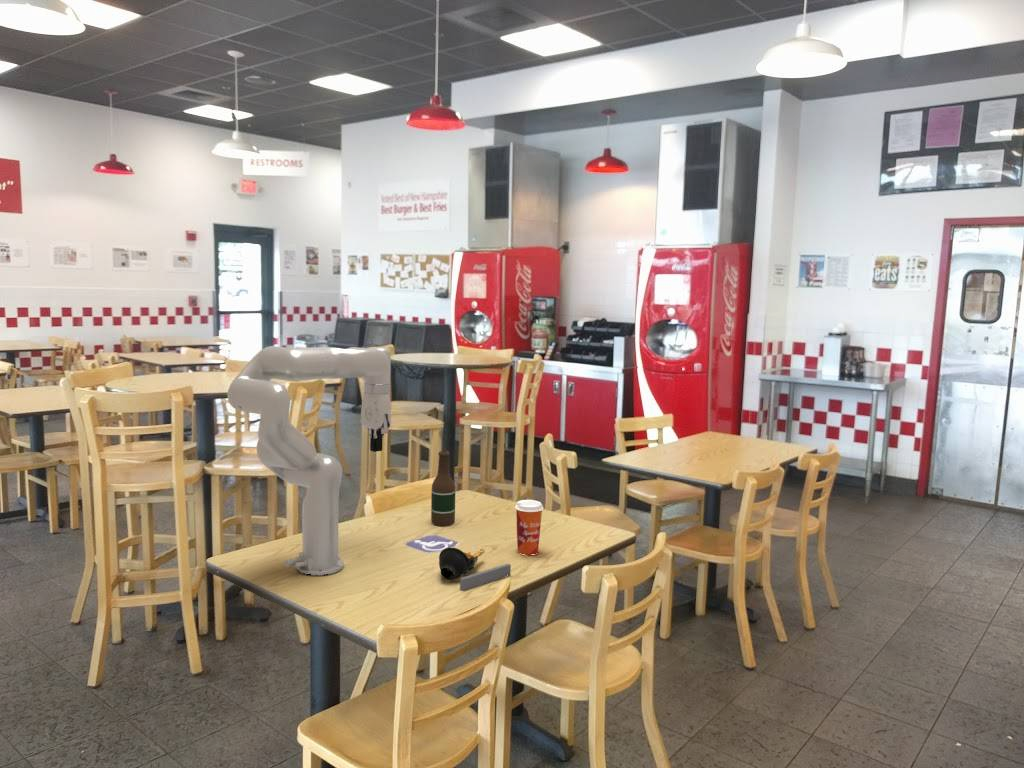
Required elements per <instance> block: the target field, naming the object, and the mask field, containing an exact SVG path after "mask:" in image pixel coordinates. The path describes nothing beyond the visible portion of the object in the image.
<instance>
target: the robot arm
mask: <svg viewBox="0 0 1024 768" xmlns="http://www.w3.org/2000/svg"><path fill="white" fill-rule="evenodd" d="M391 355H392V353H391V350H390V348H388V347H385V346H369V347H355V346H353V347H351V346H350V347H347V348H341V347H332V346H313V347H310V346H309V347H289V346H288V347H286V346H285V347H284V346H275V345H269V346H266V347H264V348H262V349H260V350H259V351H258V352H257V353H256V354H255V355H254V356H253V357H252V359H250V360H249V361H248V362H247V364H246V365H245V366H244V367H243V369H242V370H241V371H240V372H239V373H238V374H237V375H236V376H235V377H234V379H233V380H232V382H231V383H230V385H229V387H228V389H227V401H228V403H229V405H230V406H231V407H232V408H233V409H235V410H237V411H239V412H243V413H250V414H255V415H256V414H258V415H260V419H259V425H258V431H257V437H258V440H257V443H256V456H257V457H258V459H259V461H260V463H261V464H262V465H263V466H265V467H266V468H268V470H269V471H271V472H272V473H273V474H275V475H276V476H277V477H278V478H280V479H281V480H283V481H284V482H285V483H288V484H290V485H295V486H298V487H303V488H307V489H308V490H307V491H308V492H307V493H306V495H305V496H304V498H303V501H302V507H301V513H302V514H301V516H302V517H301V520H302V521H301V523H302V525H301V528H302V530H301V531H302V535H301V536H302V538H301V539H302V541H301V542H302V551H300V552H298V555H297V556H296V557H295V558H290V559H286V560H285V562H284V563H285V567H286V568H291V567H294V568H295V569H296V570H297V571H298V570H299V571H300V572H302V573H301V574H303V573H305V574H304V575H306V574H311V575H310V576H316V575H317V576H325V575H326V574H328V575H331V574H335V573H338V572H340V571H341V570H343V568H344V567H345V560H344V559H343V558H341V557H339V493H340V486H341V482H342V477H343V466H342V464H341V462H340V461H339V460H338V459H337V458H336V457H334V456H331V455H329V454H325V453H319V452H317V450H316V447H315V445H314V444H313V442H312V441H311V440H310V439H309V438H308V437H307V436H305V435H304V434H303V433H302V432H301V431H300V430H299V429H298V428H296V427H295V426H294V425H293V424H292V423H291V421H290V408H291V395H290V392H289V391H288V389H287V388H286V386H285V385H283V384H282V383H280V382H278V381H275V380H279V381H288V382H301V381H309V380H310V381H313V380H328V379H329V380H331V379H332V380H333V379H334V380H335V379H336V380H337V379H351V378H353V379H355V378H364V379H363V382H364V383H363V394H362V399H361V400H362V401H361V409H360V424H361V425H362V426H363V427H365V429H366V430H368V434H369V437H370V438H369V439H370V442H369V443H370V444H369V450H370V452H374V453H375V452H376V453H377V452H382V451H383V442H384V441H383V438H384V435H387V434H388V433H389V429H390V427H391V425H392V407H391V405H392V404H391V397H390V395H391V370H392V369H391V367H392V365H391V358H392V357H391ZM273 380H274V381H273ZM299 571H298V572H299ZM300 572H299V573H300ZM324 574H325V575H324Z"/></svg>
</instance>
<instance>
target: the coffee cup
mask: <svg viewBox="0 0 1024 768" xmlns="http://www.w3.org/2000/svg"><path fill="white" fill-rule="evenodd" d="M515 510H516V511H515V512H516V539H517V540H516V542H517V543H516V545H517V546H516V547H517V553H518V554H519V553H521V554H525V555H531V554H536V553H537V552H538V553H539V548H540V547H539V545H540V538H541V537H540V536H541V535H540V534H541V524H542V513H543V510H544V506H543V504H542V502H541V501H538V500H534V499H521V500H517V502H516V505H515ZM538 553H537V554H538ZM521 554H520V555H521ZM537 554H536V555H537Z"/></svg>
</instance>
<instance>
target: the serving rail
mask: <svg viewBox="0 0 1024 768" xmlns="http://www.w3.org/2000/svg"><path fill="white" fill-rule="evenodd" d="M511 571H512V570H511V564H510V563H504V564H501V565H498V566H495V567H491V568H489V569H486V570H482V571H478V572H476V573H472V574H469V575H467V576H463V577H459V579H460V580H459V590H460V591H467V590H470V589H473V588H475V587H479V586H482V585H485V584H488V583H492V582H495V581H497V580H500V579H503V578H506V577H505V576H507V575H509V574H510V575H511ZM507 577H508V576H507Z"/></svg>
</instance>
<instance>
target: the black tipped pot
mask: <svg viewBox="0 0 1024 768" xmlns="http://www.w3.org/2000/svg"><path fill="white" fill-rule="evenodd" d="M484 553H485V549H484V548H481V549H480V550H478V551H476V553H474V554H472V553H471V551H468V552H465V551H463V550H461V549H459V548H456V547H446V548H443V549H442V550H441V551H440V553H439V556H438V560H439V562H438V565H439V570H440V575H441V577H442V578H443V579H444V580H447V581H452V580H454V579H458V578H461V577H462V576H463V575H467V574H469V573H471V572H473V571H474V570H476V569H475V565H477V563H478V558H479V557H481V556H482V555H483V554H484Z"/></svg>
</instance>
